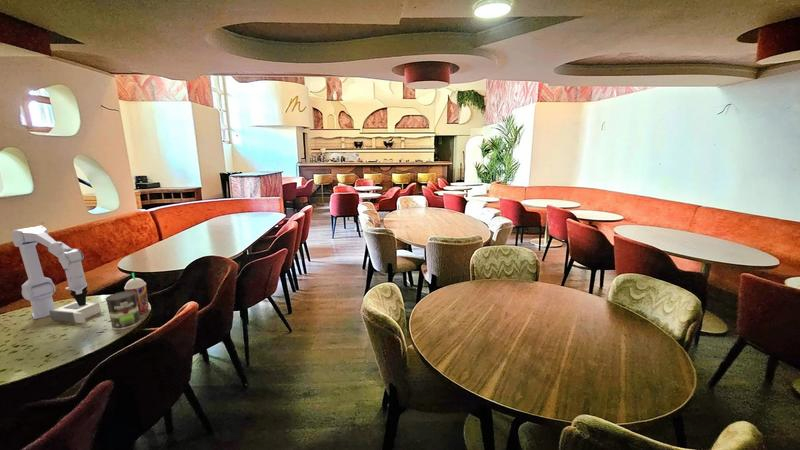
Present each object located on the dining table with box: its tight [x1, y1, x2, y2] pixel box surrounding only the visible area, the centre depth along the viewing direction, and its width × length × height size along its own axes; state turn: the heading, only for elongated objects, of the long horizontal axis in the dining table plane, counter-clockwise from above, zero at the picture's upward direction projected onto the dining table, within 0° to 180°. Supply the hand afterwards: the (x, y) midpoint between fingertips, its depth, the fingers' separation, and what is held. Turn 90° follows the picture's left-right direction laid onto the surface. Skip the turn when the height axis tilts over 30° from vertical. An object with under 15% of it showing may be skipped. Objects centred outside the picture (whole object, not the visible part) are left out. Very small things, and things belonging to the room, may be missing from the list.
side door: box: [49, 310, 87, 324], centre depth 152 cm, size 1×19×5 cm, turn 79°
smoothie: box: [123, 272, 150, 314], centre depth 160 cm, size 8×8×20 cm
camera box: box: [54, 300, 102, 320], centre depth 158 cm, size 10×14×5 cm
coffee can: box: [105, 290, 142, 331], centre depth 148 cm, size 10×10×14 cm
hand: (82, 304), depth 152 cm, fingers open, 3 cm apart
